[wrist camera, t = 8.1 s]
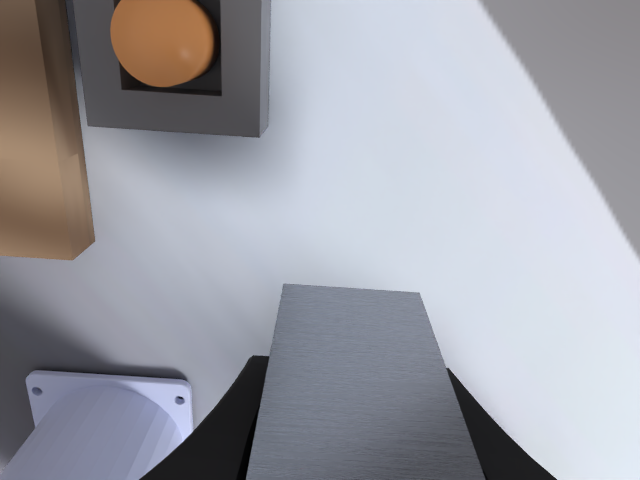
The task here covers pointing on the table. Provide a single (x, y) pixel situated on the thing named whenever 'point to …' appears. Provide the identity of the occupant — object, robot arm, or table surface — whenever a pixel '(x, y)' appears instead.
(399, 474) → the billet
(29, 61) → the wooden board
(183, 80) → the button cap
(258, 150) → the table surface
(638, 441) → the table surface
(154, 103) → the button housing
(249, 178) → the table surface
